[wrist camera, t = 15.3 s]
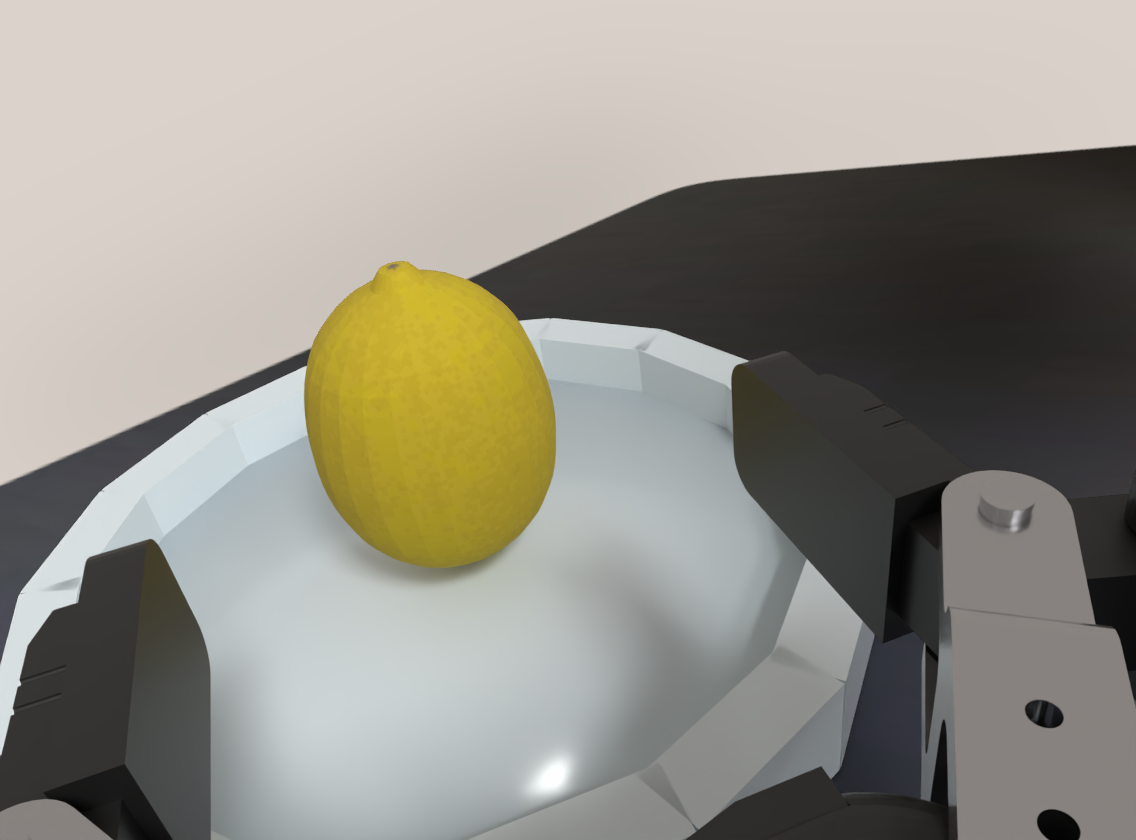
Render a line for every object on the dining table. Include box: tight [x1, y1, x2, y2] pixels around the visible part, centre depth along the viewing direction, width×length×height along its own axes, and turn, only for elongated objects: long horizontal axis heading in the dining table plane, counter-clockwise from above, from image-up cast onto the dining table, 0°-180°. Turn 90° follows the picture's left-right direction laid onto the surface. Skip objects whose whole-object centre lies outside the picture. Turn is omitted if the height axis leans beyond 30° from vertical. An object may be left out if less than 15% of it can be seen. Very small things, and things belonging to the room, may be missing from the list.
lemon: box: [304, 261, 556, 568], centre depth 21 cm, size 6×6×8 cm
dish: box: [0, 318, 875, 840], centre depth 23 cm, size 20×20×2 cm
